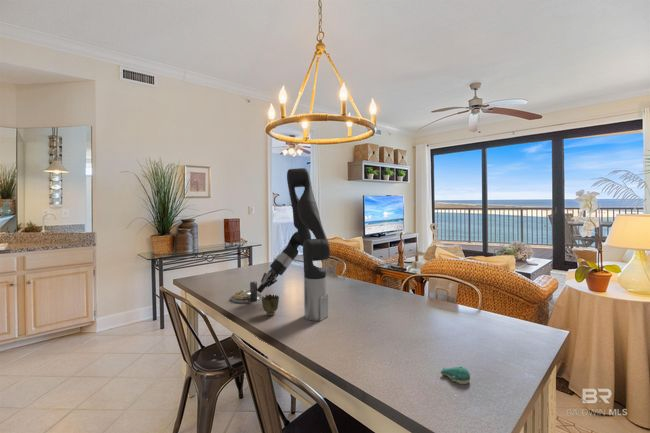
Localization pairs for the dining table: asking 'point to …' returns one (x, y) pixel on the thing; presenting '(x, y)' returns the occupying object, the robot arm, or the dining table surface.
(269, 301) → the cup
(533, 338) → the dining table surface
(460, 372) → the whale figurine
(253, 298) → the golden ring with handle
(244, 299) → the steel flange
